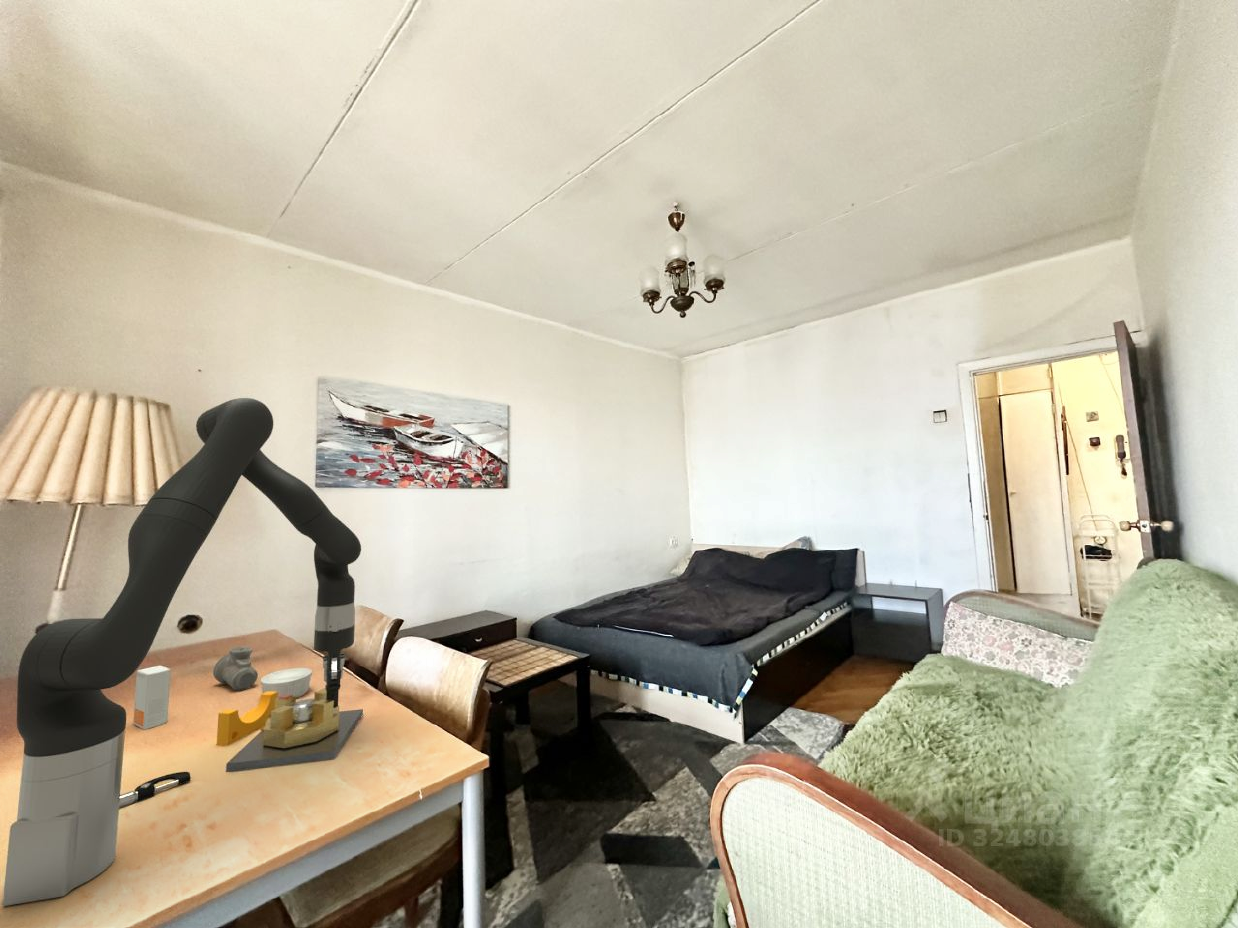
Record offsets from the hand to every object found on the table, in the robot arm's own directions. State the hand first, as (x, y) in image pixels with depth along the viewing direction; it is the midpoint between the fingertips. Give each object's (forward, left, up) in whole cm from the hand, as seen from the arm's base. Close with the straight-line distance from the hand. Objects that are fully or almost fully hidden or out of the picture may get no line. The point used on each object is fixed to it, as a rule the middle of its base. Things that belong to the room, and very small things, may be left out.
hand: (331, 707), depth 103 cm
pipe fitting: (+39, +35, -6) cm, 53 cm away
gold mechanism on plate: (-1, +5, -6) cm, 8 cm away
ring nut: (-1, +5, -4) cm, 7 cm away
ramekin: (+28, +19, -6) cm, 35 cm away
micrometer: (-15, +26, -7) cm, 31 cm away
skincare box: (+17, +42, -6) cm, 46 cm away
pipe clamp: (+7, +19, -6) cm, 21 cm away
